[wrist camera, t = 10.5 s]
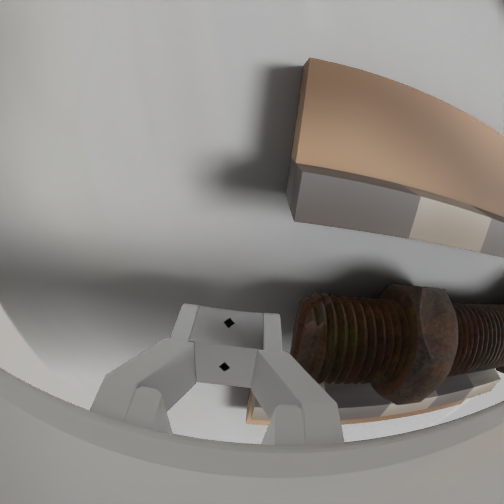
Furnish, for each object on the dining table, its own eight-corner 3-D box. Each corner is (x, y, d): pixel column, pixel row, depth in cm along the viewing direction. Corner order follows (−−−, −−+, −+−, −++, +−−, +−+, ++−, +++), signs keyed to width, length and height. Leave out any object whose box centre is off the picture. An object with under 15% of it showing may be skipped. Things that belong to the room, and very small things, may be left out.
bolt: (293, 265, 12) (507, 287, 12) (279, 373, 12) (494, 362, 12) (328, 263, 6) (571, 290, 6) (295, 445, 6) (552, 383, 6)
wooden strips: (303, 65, 7) (319, 45, 5) (559, 186, 7) (586, 201, 5) (246, 406, 14) (245, 443, 12) (455, 392, 15) (466, 416, 12)
